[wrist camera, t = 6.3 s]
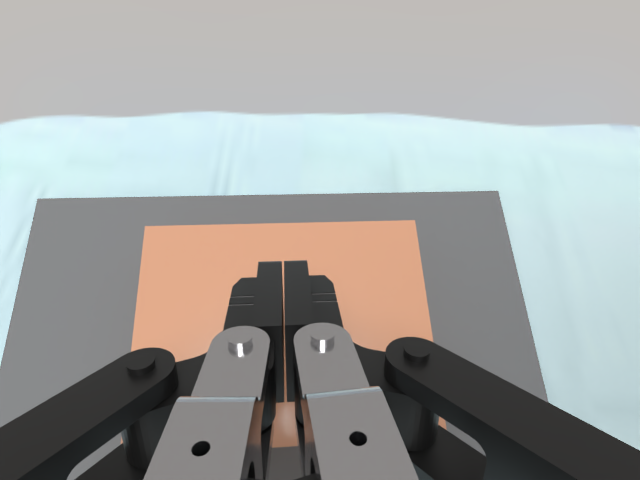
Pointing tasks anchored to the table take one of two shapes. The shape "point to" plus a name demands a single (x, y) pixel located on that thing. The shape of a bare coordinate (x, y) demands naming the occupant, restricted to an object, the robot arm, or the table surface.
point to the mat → (137, 212)
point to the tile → (283, 245)
